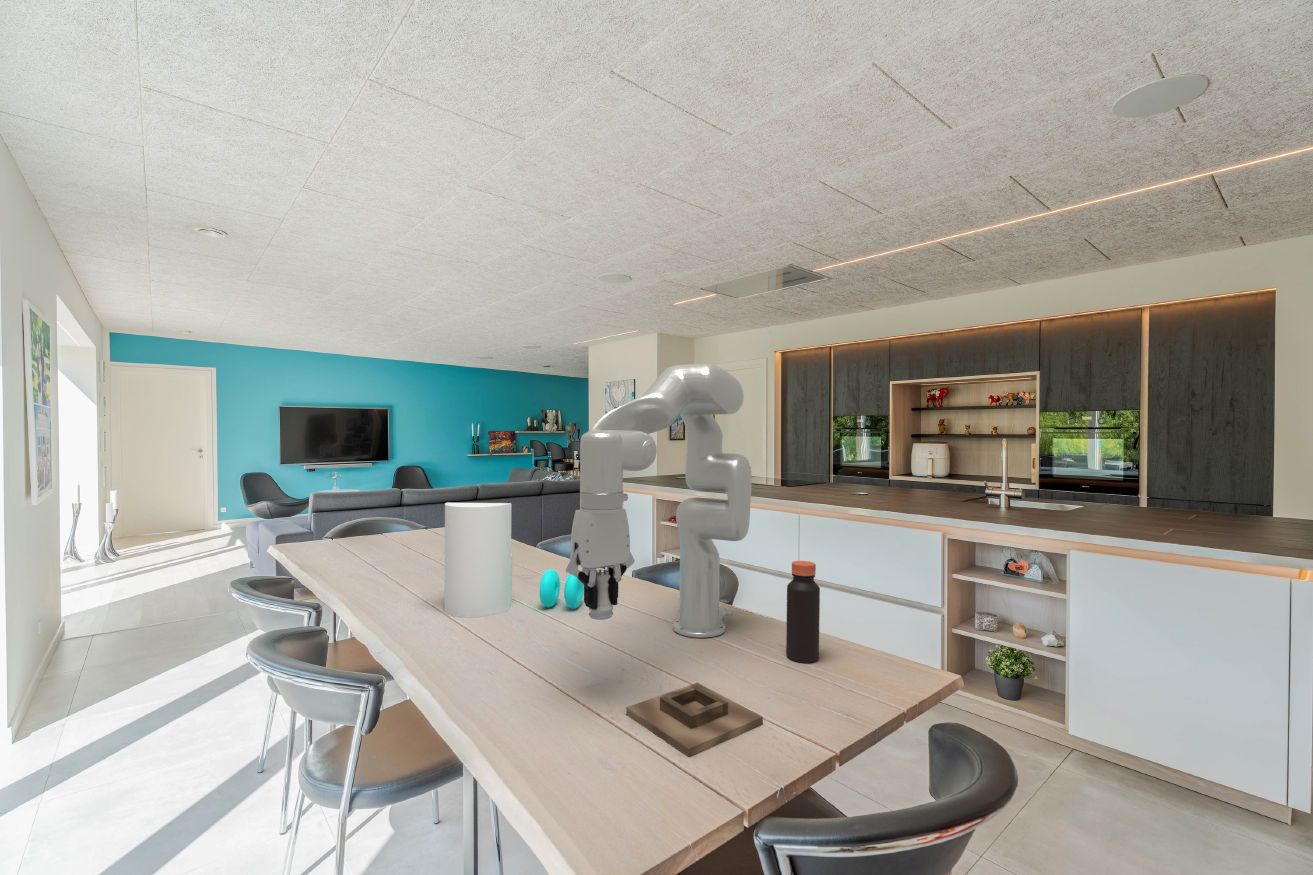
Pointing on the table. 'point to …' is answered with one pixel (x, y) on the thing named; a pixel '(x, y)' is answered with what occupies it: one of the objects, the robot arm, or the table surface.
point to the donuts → (552, 589)
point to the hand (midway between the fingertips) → (601, 604)
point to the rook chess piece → (602, 597)
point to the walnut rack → (694, 718)
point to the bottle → (803, 614)
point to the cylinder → (477, 559)
